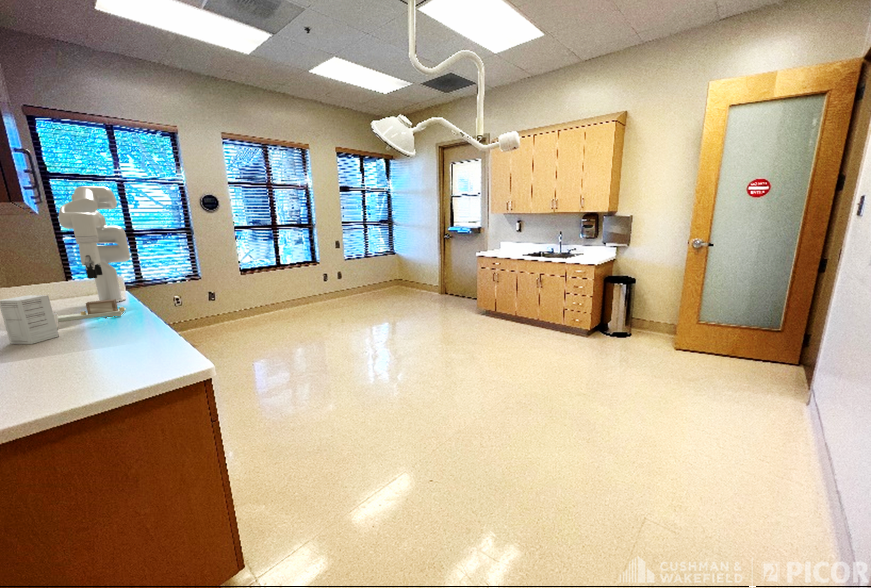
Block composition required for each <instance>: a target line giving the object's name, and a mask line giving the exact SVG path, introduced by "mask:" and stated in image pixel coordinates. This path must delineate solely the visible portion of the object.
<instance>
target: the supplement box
mask: <svg viewBox="0 0 871 588" xmlns="http://www.w3.org/2000/svg"><path fill="white" fill-rule="evenodd" d="M53 313H54V312H53V307H52V305H51V300H50V295H48V294H47V295H46V294H42V295H41V294H40V295H39V294H38V295H34V294H33V295H31V294H29V295H21V296H16V297H9V298H5V299H0V314H1V315H2V319H3V323H4V326H5V330H6V333H7V337H8V340H9V344H11V345H14V344H15V345H32V344H36V343H41V342H43V341H48V340H51V339H55V338H57V337H58V336H60V334H59V330H57V329H58V327H57V326H56V323H55V319H54V315H53Z"/></svg>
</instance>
